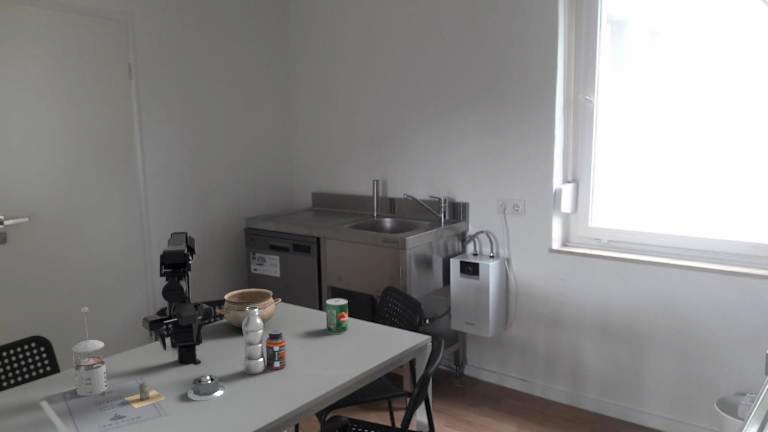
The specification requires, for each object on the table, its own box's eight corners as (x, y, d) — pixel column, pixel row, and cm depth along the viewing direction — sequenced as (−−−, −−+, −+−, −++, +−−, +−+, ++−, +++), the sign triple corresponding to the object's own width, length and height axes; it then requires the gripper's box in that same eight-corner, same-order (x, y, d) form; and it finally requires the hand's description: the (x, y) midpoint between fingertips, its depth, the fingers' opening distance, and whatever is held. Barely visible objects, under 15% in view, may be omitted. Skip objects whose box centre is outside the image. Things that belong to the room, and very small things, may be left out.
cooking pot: (224, 341, 207) (222, 307, 205) (209, 326, 223) (207, 294, 221) (291, 327, 220) (290, 295, 218) (272, 314, 236) (271, 284, 234)
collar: (195, 386, 167) (194, 376, 166) (219, 384, 168) (218, 374, 168) (192, 397, 160) (192, 386, 160) (218, 394, 162) (217, 384, 161)
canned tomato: (347, 334, 212) (346, 304, 210) (325, 334, 212) (324, 304, 210) (349, 326, 220) (348, 298, 218) (327, 326, 220) (327, 298, 218)
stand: (124, 401, 161) (123, 382, 160) (154, 392, 166) (152, 373, 166) (135, 411, 155) (133, 391, 154) (165, 402, 161) (164, 382, 160)
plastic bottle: (247, 378, 176) (244, 313, 173) (241, 370, 181) (238, 307, 178) (268, 373, 178) (265, 309, 175) (262, 366, 184) (259, 303, 181)
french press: (85, 404, 160) (77, 315, 157) (61, 394, 166) (53, 308, 163) (118, 390, 168) (111, 305, 165) (94, 381, 175) (87, 299, 171)
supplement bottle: (282, 371, 180) (280, 335, 179) (263, 369, 182) (262, 334, 180) (289, 363, 186) (287, 328, 184) (271, 362, 187) (269, 327, 186)
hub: (181, 395, 165) (180, 375, 164) (215, 384, 171) (214, 365, 170) (197, 407, 157) (196, 386, 156) (231, 395, 164) (230, 376, 163)
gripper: (155, 306, 155) (159, 362, 157) (221, 292, 167) (224, 344, 170) (139, 297, 163) (143, 351, 165) (203, 284, 175) (206, 335, 178)
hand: (180, 345), depth 169 cm, fingers open, 9 cm apart
